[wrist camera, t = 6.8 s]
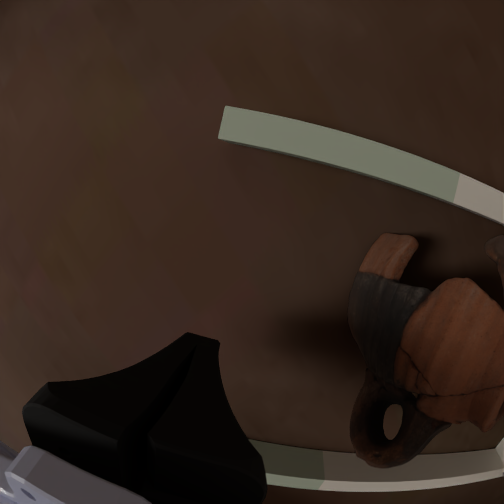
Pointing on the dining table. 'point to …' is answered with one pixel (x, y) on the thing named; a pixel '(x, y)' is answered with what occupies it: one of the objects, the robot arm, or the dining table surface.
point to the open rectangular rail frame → (400, 174)
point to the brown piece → (423, 353)
